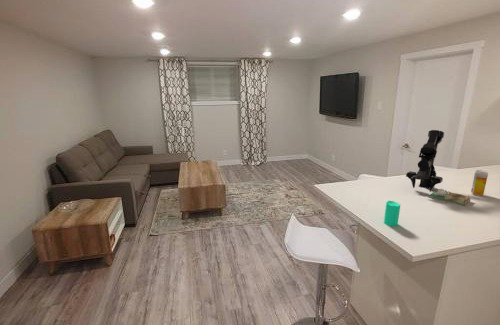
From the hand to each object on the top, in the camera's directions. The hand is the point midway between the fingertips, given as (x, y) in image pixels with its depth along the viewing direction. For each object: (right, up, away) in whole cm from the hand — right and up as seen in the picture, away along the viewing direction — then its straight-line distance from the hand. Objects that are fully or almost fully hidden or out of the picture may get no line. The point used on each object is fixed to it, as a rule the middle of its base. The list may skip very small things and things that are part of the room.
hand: (421, 189), depth 169 cm
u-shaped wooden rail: (+12, -5, -13) cm, 19 cm away
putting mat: (+9, -4, -10) cm, 14 cm away
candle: (-42, -12, -40) cm, 59 cm away
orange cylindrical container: (+32, -3, -4) cm, 32 cm away
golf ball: (+7, -1, -8) cm, 10 cm away
